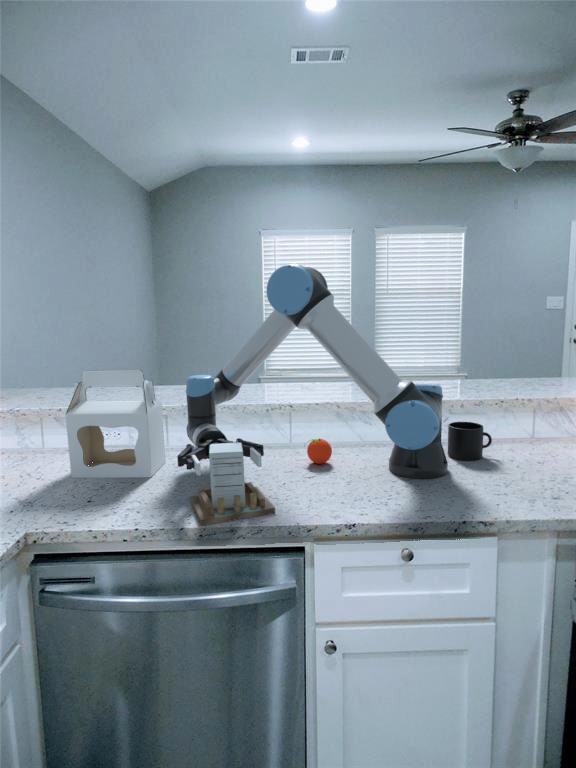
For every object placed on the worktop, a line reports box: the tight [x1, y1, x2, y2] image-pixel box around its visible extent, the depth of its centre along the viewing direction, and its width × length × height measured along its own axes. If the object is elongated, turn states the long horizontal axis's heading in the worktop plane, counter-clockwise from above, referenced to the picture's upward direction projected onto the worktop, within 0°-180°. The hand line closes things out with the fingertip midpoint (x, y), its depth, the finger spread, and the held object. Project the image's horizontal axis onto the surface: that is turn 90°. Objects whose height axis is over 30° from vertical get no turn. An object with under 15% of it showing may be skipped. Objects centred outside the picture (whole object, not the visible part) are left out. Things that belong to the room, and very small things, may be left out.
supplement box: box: [208, 443, 246, 509], centre depth 112 cm, size 7×7×13 cm
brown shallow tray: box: [189, 481, 276, 526], centre depth 113 cm, size 16×14×5 cm
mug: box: [447, 421, 493, 462], centre depth 145 cm, size 9×12×9 cm
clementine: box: [304, 438, 333, 465], centre depth 142 cm, size 8×7×7 cm
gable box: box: [65, 369, 166, 479], centre depth 139 cm, size 22×13×28 cm, turn 87°
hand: (230, 465), depth 111 cm, fingers open, 13 cm apart
